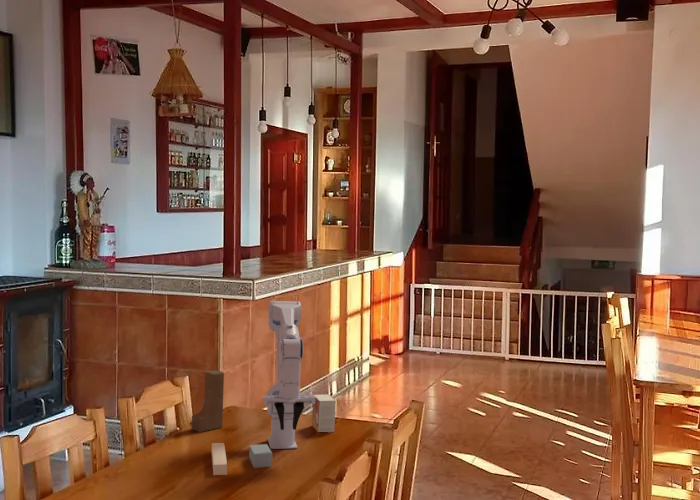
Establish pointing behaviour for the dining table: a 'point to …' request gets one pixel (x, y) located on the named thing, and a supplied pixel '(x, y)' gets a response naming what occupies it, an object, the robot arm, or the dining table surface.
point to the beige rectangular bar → (219, 459)
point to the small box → (323, 413)
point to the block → (260, 456)
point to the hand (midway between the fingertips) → (288, 428)
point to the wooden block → (211, 403)
